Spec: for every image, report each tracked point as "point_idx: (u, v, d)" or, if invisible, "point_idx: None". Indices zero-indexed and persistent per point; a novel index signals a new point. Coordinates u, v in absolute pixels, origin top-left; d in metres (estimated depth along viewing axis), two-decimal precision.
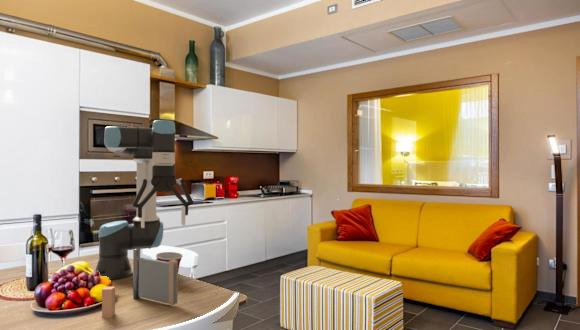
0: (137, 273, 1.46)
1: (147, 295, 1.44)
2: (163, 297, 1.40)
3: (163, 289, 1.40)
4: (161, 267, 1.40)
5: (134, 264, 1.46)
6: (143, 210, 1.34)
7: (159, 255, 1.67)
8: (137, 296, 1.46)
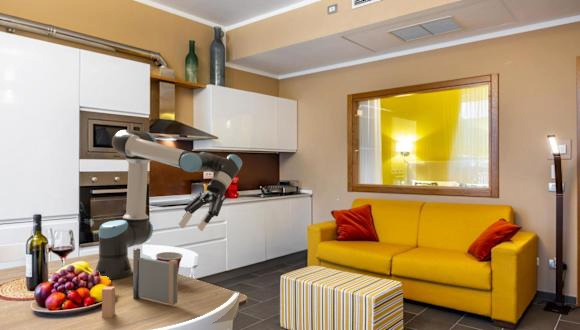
0: (137, 273, 1.46)
1: (147, 295, 1.44)
2: (163, 297, 1.40)
3: (163, 289, 1.40)
4: (161, 267, 1.40)
5: (134, 264, 1.46)
6: None
7: (159, 255, 1.67)
8: (137, 296, 1.46)
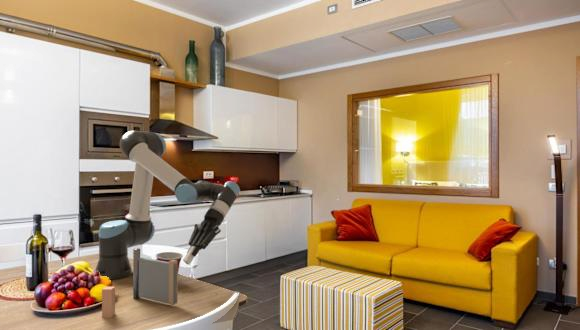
0: (137, 273, 1.46)
1: (147, 295, 1.44)
2: (163, 297, 1.40)
3: (163, 289, 1.40)
4: (161, 267, 1.40)
5: (134, 264, 1.46)
6: None
7: (159, 255, 1.67)
8: (137, 296, 1.46)
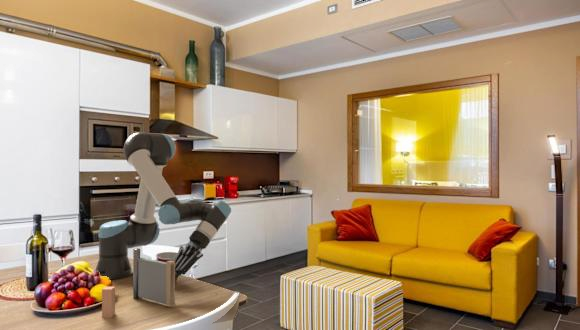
0: (137, 273, 1.46)
1: (146, 295, 1.43)
2: (161, 298, 1.39)
3: (161, 290, 1.39)
4: (159, 268, 1.40)
5: (134, 264, 1.46)
6: None
7: (159, 255, 1.67)
8: (137, 296, 1.46)
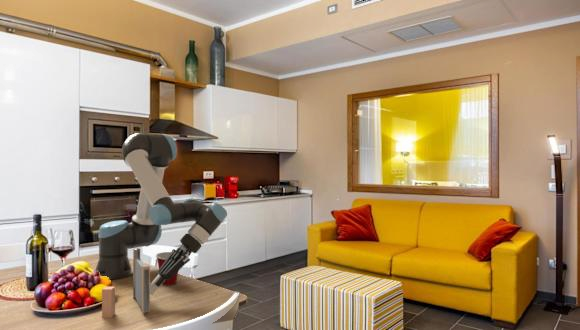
0: None
1: (137, 297, 1.41)
2: (141, 302, 1.35)
3: (141, 294, 1.35)
4: (140, 271, 1.35)
5: (134, 264, 1.46)
6: None
7: (159, 255, 1.67)
8: None
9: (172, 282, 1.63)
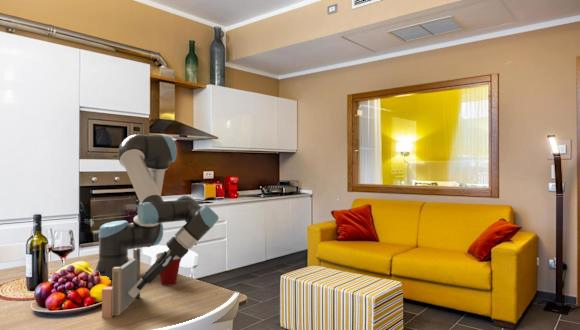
0: (137, 273, 1.46)
1: None
2: None
3: None
4: None
5: None
6: None
7: (159, 255, 1.67)
8: (137, 296, 1.46)
9: (172, 282, 1.63)
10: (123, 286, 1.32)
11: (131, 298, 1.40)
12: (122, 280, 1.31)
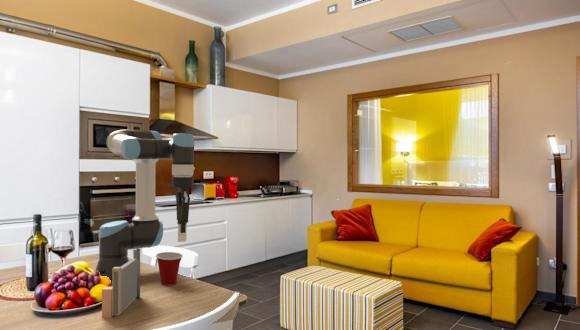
0: (137, 273, 1.46)
1: None
2: None
3: None
4: None
5: None
6: None
7: (159, 255, 1.67)
8: (137, 296, 1.46)
9: (172, 282, 1.63)
10: (123, 286, 1.32)
11: (131, 298, 1.40)
12: (122, 280, 1.31)
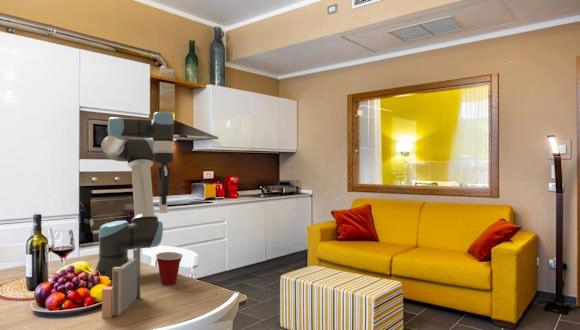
0: (137, 273, 1.46)
1: None
2: None
3: None
4: None
5: None
6: None
7: (159, 255, 1.67)
8: (137, 296, 1.46)
9: (172, 282, 1.63)
10: (123, 286, 1.32)
11: (131, 298, 1.40)
12: (122, 280, 1.31)
